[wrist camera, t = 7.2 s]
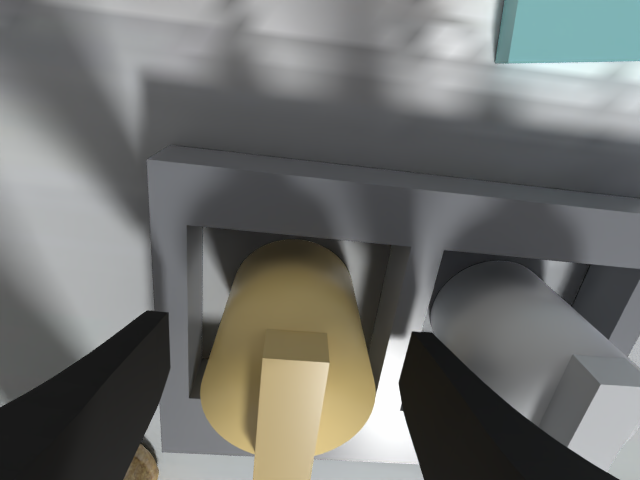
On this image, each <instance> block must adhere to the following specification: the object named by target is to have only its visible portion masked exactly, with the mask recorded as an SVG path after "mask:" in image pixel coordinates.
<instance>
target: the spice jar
mask: <svg viewBox="0 0 640 480" xmlns="http://www.w3.org/2000/svg"><path fill="white" fill-rule="evenodd" d="M158 474H159V470H158V467H157V465H156V462H155V459H154V458H153V456H152V455H151V453H150V452H149V451H148V450H147V449H146V448H145V447H144V446H143V445H141V444H140V445H139V447H138V449H137V451H136V454H135V456H134V458H133V460H132V462H131V464H130V466H129V469H128V471H127V473H126V475H125V477H124V479H123V480H157V478H158Z"/></svg>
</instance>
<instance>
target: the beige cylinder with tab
mask: <svg viewBox="0 0 640 480" xmlns="http://www.w3.org/2000/svg"><path fill="white" fill-rule="evenodd" d="M375 397H376V388H375V382H374V377H373V373H372V369H371V364H370V360H369V355H368V351H367V346H366V342H365V337H364V333H363V329H362V324H361V320H360V315H359V311H358V306H357V302H356V298H355V293H354V289H353V284H352V280H351V277H350V274H349V272H348V270H347V268H346V266H345V265H344V263H343V262H342V261H341V260H340V259H339V258H338V256H337V255H335V254H334V253H333V252H332V251H330V250H329V249H327V248H325V247H323V246H321V245H319V244H317V243H314V242H310V241H306V240H299V239H287V240H280V241H275V242H272V243H269V244H266V245H264V246H262V247H260V248H258V249H257V250H255V251H254V252H253V253H251V254H250V255H249V256H248V257H247V258H246V259H245V260H244V261H243V263H242V264H241V266H240V267H239V269H238V271H237V273H236V275H235V279H234V282H233V285H232V288H231V291H230V294H229V297H228V300H227V304H226V307H225V310H224V313H223V316H222V319H221V322H220V325H219V329H218V332H217V335H216V338H215V341H214V344H213V347H212V350H211V354H210V357H209V360H208V363H207V366H206V369H205V372H204V375H203V379H202V383H201V389H200V398H201V405H202V408H203V412H204V414H205V416H206V418H207V420H208V421H209V423H210V424H211V426H212V427H213V428H214V429H215V431H216V432H217V433H218V434H219V435H220V436H222V437H223V438H224V439H225V440H226V441H228V442H229V443H231V444H232V445H234V446H236V447H238V448H240V449H242V450H244V451H247V452H249V453H252V454H255V460H254V472H253V480H310V478H311V472H312V466H313V460H314V456H316V455H319V454H323V453H325V452H328V451H331V450H333V449H335V448H337V447H339V446H341V445H342V444H344V443H346V442H347V441H349V440H350V439H351V438H352V437H354V436H355V435H356V434H357V433H358V432H359V431H360V430H361V429H362V428H363V426H364V425H365V423H366V422H367V421H368V419H369V417H370V415H371V413H372V410H373V407H374V404H375Z"/></svg>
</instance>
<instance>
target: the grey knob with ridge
mask: <svg viewBox="0 0 640 480" xmlns="http://www.w3.org/2000/svg"><path fill="white" fill-rule="evenodd" d="M430 320H431V327H432V330H433V333H434V335H435V336H436V337H437V338H438V339H439V340H440V341H441V342H442V343H443V344H444V345H445V346H446V347H447V348H449V349H450V350H451V351H452V352H453V353H454V354H455V355H456V356H457V357H458V358H459V359H460V360H461V361H462V362H463V363H464V364H465V365H466V366H467V367H468V368H469V369H470V370H471V371H472V372H473V373H474V374H476V375H477V376H478V377H479V378H480V379H481V380H482V381H483V382H484V383H485V384H486V385H488V386H489V387H490V388H491V389H492V390H493V391H494V392H495V393H497V394H498V395H499V396H500V397H501V398H502V399H504V400H505V401H506V402H507V403H508V404H510V405H511V406H512V407H513V408H514V409H516V410H517V411H518V412H519V413H521V414H522V415H523V416H524V417H526V418H527V419H528V420H530V421H531V422H532V423H534V424H535V425H536V426H538V427H539V428H540V429H542V430H543V431H545V432H546V433H547V434H549V435H550V436H551V437H553V438H554V439H556V440H557V441H559V442H560V443H562V444H563V445H565V446H566V447H568V448H569V449H571V450H572V451H574V452H575V453H577V454H578V455H580V456H581V457H583V458H584V459H586V460H588V461H589V462H591V463H592V464H594V465H596V466H597V467H599V468H601V469H602V470H604V471H605V472H608V470H609V469H610V467H611V465H612V464H613V462H614V460H615V459H616V457H617V455H618V454H619V452H620V451H621V449H622V447H623V446H624V444H625V443H626V442H627V441H628V440H629V439H630V438H631V437H632V436H633V435H634V434H635V433H636V432H637V430H638V429H639V428H640V368H639V367H638V366H637V365H636V364H635V363H633V362H632V361H631V360H630V359H629V358H628V357H627V356H626V355H625V354H623V353H622V352H621V351H620V350H619V349H618V348H617V347H616V346H615V345H613V344H612V343H611V342H610V341H609V340H608V339H607V338H606V337H605V336H603V335H602V334H601V333H600V332H599V331H598V330H597V329H596V328H595V327H593V326H592V325H591V324H590V323H589V322H588V321H587V320H586V319H585V318H583V317H582V316H581V315H580V314H579V313H578V312H577V311H576V310H575V309H573V308H572V307H571V306H570V305H569V304H568V303H567V302H566V301H565V300H563V299H562V298H561V297H560V296H559V295H558V294H557V293H556V292H555V291H553V290H552V289H551V288H550V287H549V286H548V285H547V284H546V283H545V282H543V281H542V280H541V279H540V278H539V277H538V276H537V275H536V274H535V273H533V272H532V271H531V270H530V269H528V268H527V267H525V266H523V265H521V264H518V263H515V262H510V261H498V260H497V261H488V262H483V263H479V264H476V265H473V266H471V267H469V268H466V269H465V270H463V271H461V272H459V273H458V274H457V275H455V276H454V277H452V278H451V279H450V280H449V281H448V282H447V283H446V284H445V285H444V286H443V288H442V289H441V290H440V292H439V293H438V295H437V297H436V298H435V300H434V303H433V306H432V310H431V319H430Z"/></svg>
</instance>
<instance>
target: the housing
mask: <svg viewBox="0 0 640 480" xmlns="http://www.w3.org/2000/svg"><path fill="white" fill-rule="evenodd" d="M147 176H148V195H149V214H150V233H151V252H152V271H153V290H154V309H155V311H159V312H169V338H170V365H171V368H170V372H169V375H168V378H167V381H166V384H165V387H164V390H163V393H162V396H161V399H160V402H159V404H160V423H161V442H162V452H169V453H190V454H212V455H233V456H254V457H255V454H252V453H249V452H247V451H244V450H242V449H240V448H238V447H236V446H234V445H232V444H231V443H229V442H228V441H226V440H225V439H224V438H223V437H222V436H220V435H219V434H218V433H217V432H216V431H215V429H214V428H213V427H212V426H211V424H210V423H209V421H208V420H207V418H206V416H205V414H204V412H203V408H202V405H201V398H200V389H201V383H202V379H203V375H204V372H205V369H206V366H207V363H208V359H202V277H203V227H211V228H222V229H232V230H242V231H253V232H263V233H273V234H284V235H294V236H304V237H315V238H325V239H335V240H346V241H356V242H366V243H377V244H387V245H392V246H391V250H390V255H389V259H388V264H387V269H386V273H385V278H384V283H383V287H382V292H381V296H380V301H379V306H378V310H377V315H376V320H375V324H374V329H373V333H372V338H371V343H370V347H369V352H368V355H369V360H370V364H371V369H372V373H373V377H374V382H375V388H376V397H375V404H374V407H373V410H372V413H371V415H370V417H369V419H368V421H367V422H366V423H365V425H364V426H363V428H362V429H361V430H360V431H359V432H358V433H357V434H356V435H355V436H354V437H352V438H351V439H350V440H349V441H347V442H346V443H344V444H342V445H341V446H339V447H337V448H335V449H333V450H331V451H328V452H325V453H323V454H319V455H316V456H314V459H318V460H340V461H361V462H382V463H404V464H419V462H418V459H417V455H416V452H415V449H414V446H413V443H412V440H411V436H410V433H409V430H408V427H407V423H406V420H405V417H404V412H403V407H402V402H401V396H400V390H399V384H398V382H399V378H400V375H401V371H402V367H403V363H404V359H405V356H406V352H407V348H408V344H409V341H410V337H411V333H412V331H417V332H422V328H423V324H424V321H425V317H426V313H427V310H428V306H429V303H430V299H431V295H432V292H433V288H434V284H435V281H436V277H437V274H438V270H439V266H440V263H441V259H442V256H443V252H444V250H449V251H460V252H470V253H480V254H491V255H501V256H511V257H522V258H532V259H542V260H553V261H563V262H573V263H584V264H591V265H590V268H589V270H588V272H587V274H586V277H585V279H584V281H583V283H582V285H581V288H580V290H579V292H578V294H577V297H576V299H575V301H574V303H573V306H572V308H573V309H575V310H576V311H577V312H578V313H579V314H580V315H581V316H582V317H583V318H585V319H586V320H587V321H588V322H589V323H590V324H591V325H592V326H593V327H595V328H596V329H597V330H598V331H599V332H600V333H601V334H602V335H603V336H605V337H606V338H607V339H608V340H609V341H610V342H611V343H612V344H613V345H615V346H616V347H617V348H618V349H619V350H620V351H621V352H622V353H623V354H625V355H626V356H627V357H628V355H629V354H630V352H631V350H632V348H633V346H634V344H635V343H636V341H637V339H638V337H639V335H640V198H631V197H622V196H614V195H605V194H596V193H587V192H578V191H570V190H561V189H552V188H543V187H534V186H526V185H517V184H508V183H499V182H491V181H482V180H473V179H464V178H455V177H447V176H438V175H429V174H420V173H411V172H403V171H394V170H385V169H376V168H367V167H359V166H350V165H341V164H332V163H324V162H315V161H306V160H297V159H288V158H280V157H271V156H262V155H253V154H244V153H236V152H227V151H218V150H209V149H200V148H192V147H183V146H174V145H169V146H168V147H166V148H164V149H163V150H161V151H159V152H158V153H156V154H155V155H153V156H151V157H150V158H148V159H147Z"/></svg>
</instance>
